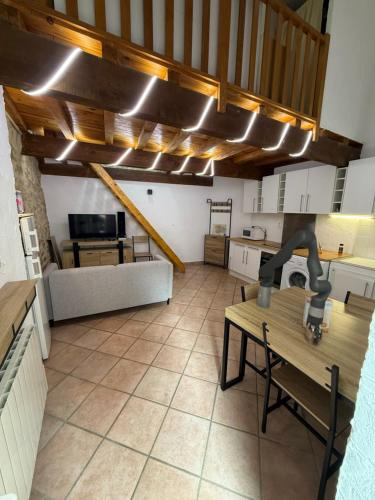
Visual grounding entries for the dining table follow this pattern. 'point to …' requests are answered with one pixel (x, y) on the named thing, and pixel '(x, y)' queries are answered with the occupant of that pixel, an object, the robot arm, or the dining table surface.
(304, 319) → the cracker box
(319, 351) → the dining table surface
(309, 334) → the walnut block
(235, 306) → the dining table surface
